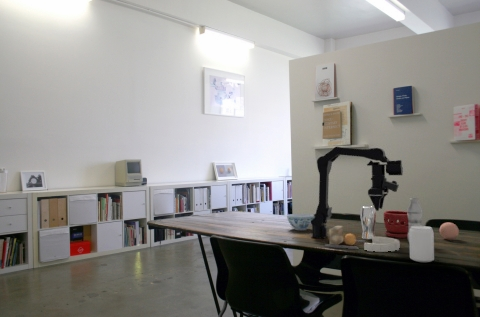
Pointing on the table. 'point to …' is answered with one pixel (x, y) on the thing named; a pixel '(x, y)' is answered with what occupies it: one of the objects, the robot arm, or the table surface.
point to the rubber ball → (350, 239)
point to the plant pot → (396, 224)
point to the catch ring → (382, 244)
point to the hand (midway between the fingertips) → (379, 209)
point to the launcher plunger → (336, 235)
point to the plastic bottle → (414, 214)
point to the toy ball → (449, 231)
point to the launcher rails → (345, 246)
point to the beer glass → (368, 221)
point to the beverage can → (421, 243)
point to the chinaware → (300, 221)
